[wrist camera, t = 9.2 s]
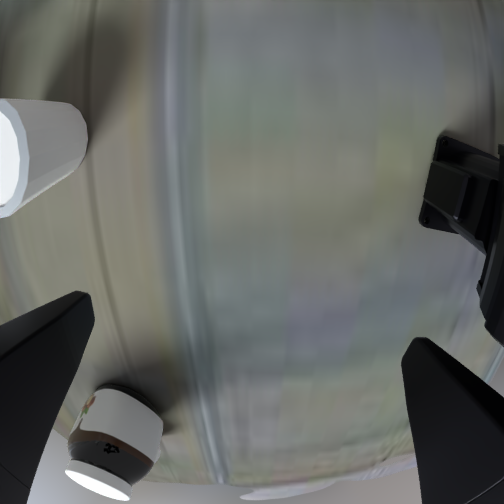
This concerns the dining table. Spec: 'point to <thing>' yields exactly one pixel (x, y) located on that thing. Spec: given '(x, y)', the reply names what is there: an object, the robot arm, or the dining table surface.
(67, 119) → the white cup
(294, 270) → the dining table surface
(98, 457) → the spread jar
